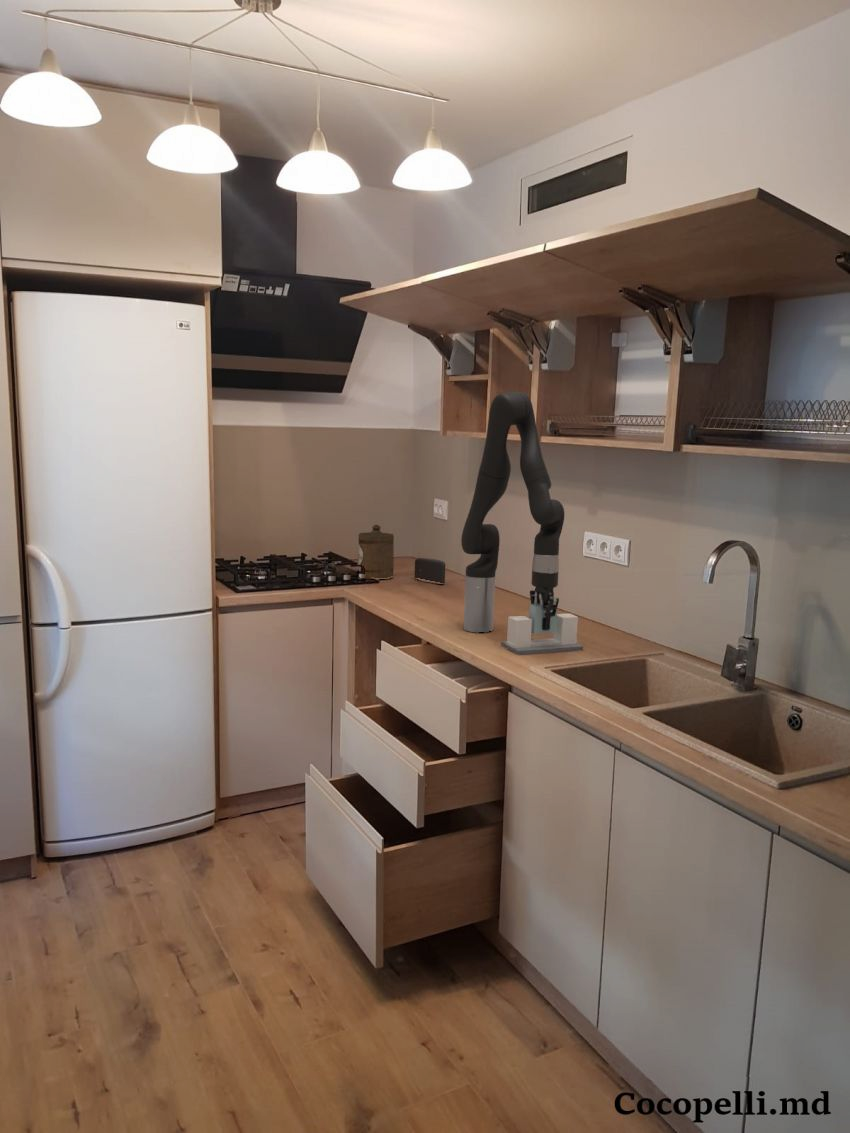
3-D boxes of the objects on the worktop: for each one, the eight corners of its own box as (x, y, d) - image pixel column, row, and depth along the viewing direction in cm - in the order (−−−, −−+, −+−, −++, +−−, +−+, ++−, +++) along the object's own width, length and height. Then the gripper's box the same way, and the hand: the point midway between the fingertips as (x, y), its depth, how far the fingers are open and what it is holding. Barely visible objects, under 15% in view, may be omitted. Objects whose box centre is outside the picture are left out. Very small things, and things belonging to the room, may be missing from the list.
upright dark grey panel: (450, 584, 341) (451, 561, 340) (442, 586, 338) (443, 562, 336) (421, 579, 352) (421, 556, 351) (413, 580, 349) (414, 557, 347)
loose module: (528, 631, 245) (529, 604, 244) (549, 630, 247) (551, 603, 246) (534, 634, 241) (535, 606, 240) (555, 632, 244) (557, 605, 243)
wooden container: (364, 573, 361) (365, 522, 358) (397, 575, 358) (399, 524, 354) (352, 579, 347) (353, 525, 344) (387, 581, 343) (388, 527, 340)
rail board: (500, 645, 247) (502, 614, 245) (563, 641, 254) (565, 611, 253) (517, 655, 237) (519, 622, 235) (583, 650, 244) (584, 619, 242)
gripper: (522, 566, 247) (519, 623, 249) (545, 574, 234) (542, 634, 236) (545, 565, 249) (542, 622, 252) (569, 573, 236) (566, 633, 239)
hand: (542, 628), depth 244 cm, fingers closed on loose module, 3 cm apart
